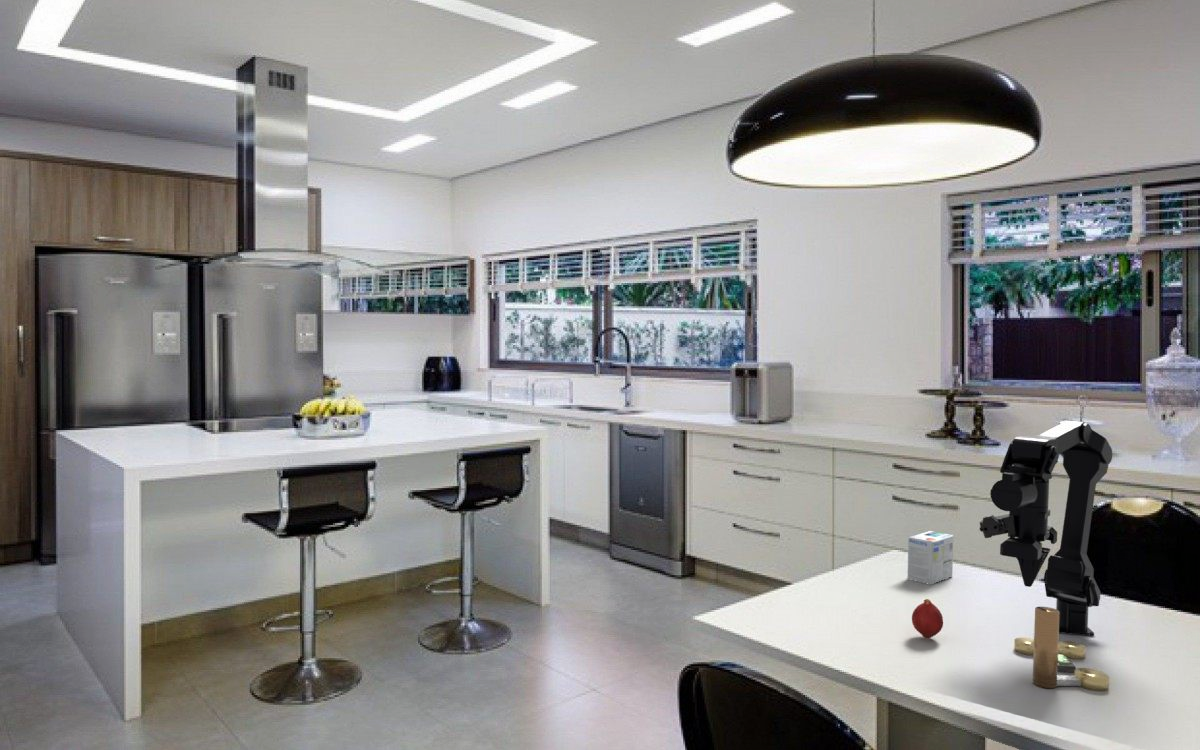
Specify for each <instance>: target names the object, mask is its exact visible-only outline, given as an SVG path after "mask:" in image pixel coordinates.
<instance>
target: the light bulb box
mask: <svg viewBox="0 0 1200 750" xmlns="http://www.w3.org/2000/svg"><path fill="white" fill-rule="evenodd" d="M954 538H955V537H954V534H950V533H949V534H948V533H943V532H939V531H932V530H927V531H925V532H922V533H919V534H915V535H912V536H909V537H908V539H907V540H908V542H907V543H908V544H907V546H908V547H907V580H909V579H912V580H911V581H913V580H916V581H915V582H917V581H920V582H919V583H921V582H924V583H923V584H925V583H928V584H927V585H929V584H932V585H935V584H937V583H936V582H938V583H940V582H942V581H941V580H943V581H945V580H947V578H948V579H950V578H949V577H951V578H952V577H953V565H954V564H953V563H954V562H953V560H954ZM944 579H945V580H944ZM939 581H940V582H939ZM934 583H935V584H934Z"/></svg>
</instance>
